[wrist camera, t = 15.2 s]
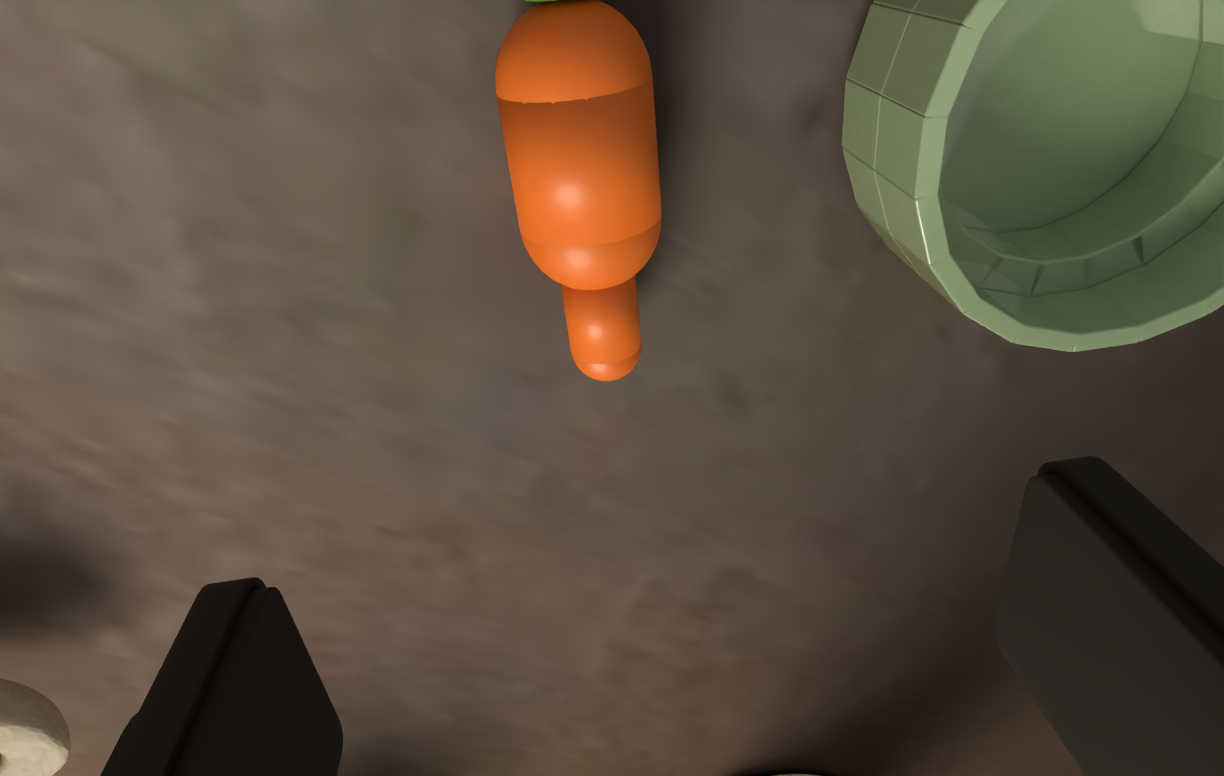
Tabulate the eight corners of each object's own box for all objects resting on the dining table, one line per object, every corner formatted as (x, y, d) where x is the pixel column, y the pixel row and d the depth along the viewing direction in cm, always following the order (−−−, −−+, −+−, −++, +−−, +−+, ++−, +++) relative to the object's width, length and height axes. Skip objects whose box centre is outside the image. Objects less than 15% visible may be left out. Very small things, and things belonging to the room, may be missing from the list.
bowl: (1172, 246, 26) (1315, 317, 21) (825, 295, 25) (893, 379, 21) (1313, -200, 19) (1564, -237, 15) (849, -143, 19) (956, -162, 14)
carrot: (486, -47, 19) (457, -37, 16) (641, -65, 19) (645, -59, 16) (552, 349, 26) (541, 416, 22) (669, 339, 25) (676, 405, 22)
